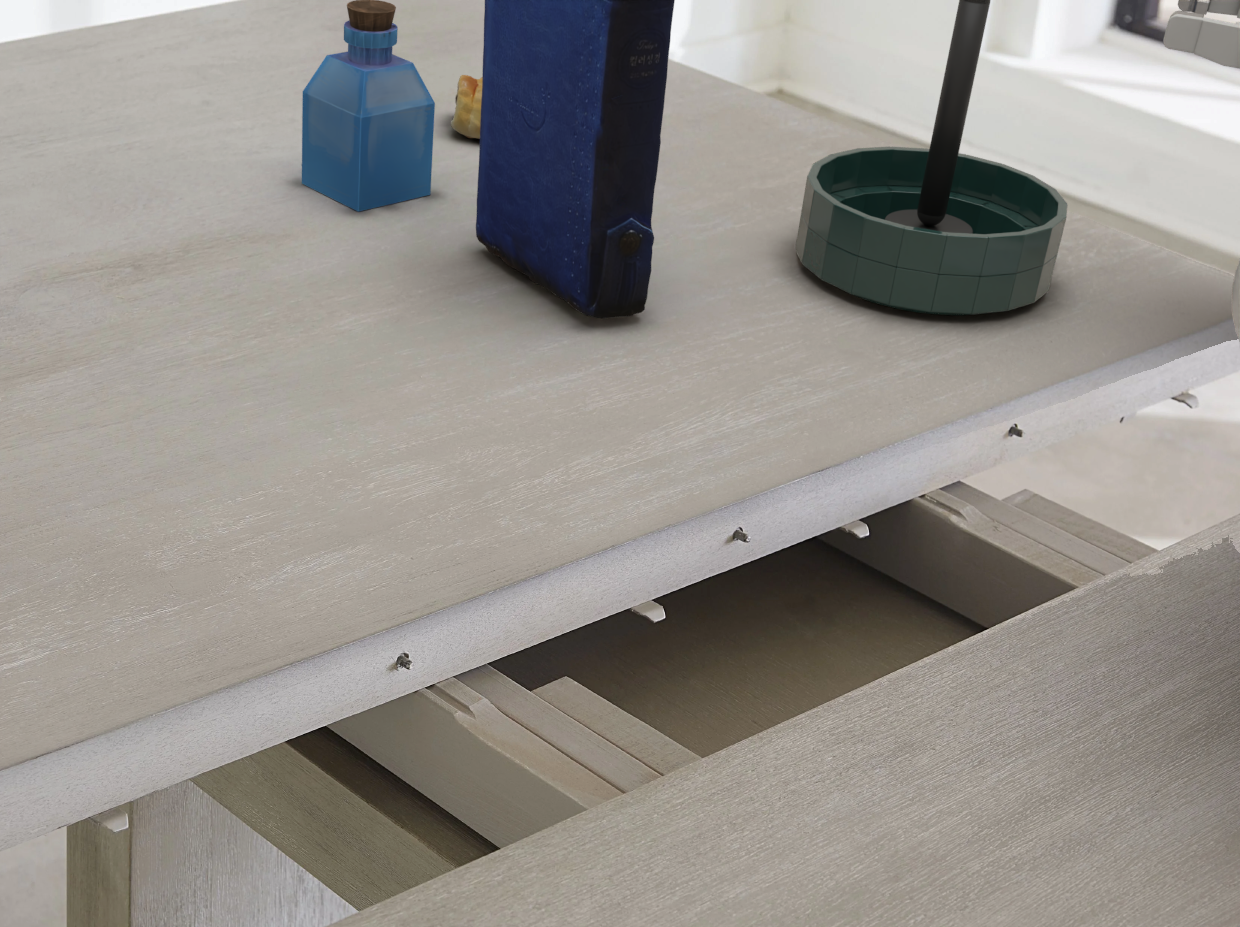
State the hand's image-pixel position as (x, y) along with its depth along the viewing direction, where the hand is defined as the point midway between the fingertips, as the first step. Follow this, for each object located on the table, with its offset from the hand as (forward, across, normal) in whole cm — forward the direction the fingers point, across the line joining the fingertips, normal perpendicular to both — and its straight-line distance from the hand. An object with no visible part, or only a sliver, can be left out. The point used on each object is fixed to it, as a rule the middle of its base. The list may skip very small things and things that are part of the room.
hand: (1173, 9), depth 110 cm
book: (+31, -14, -18) cm, 39 cm away
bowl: (+11, 0, -18) cm, 21 cm away
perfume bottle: (+48, -5, -18) cm, 52 cm away
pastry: (+45, +11, -18) cm, 50 cm away
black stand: (+11, 0, -18) cm, 21 cm away
